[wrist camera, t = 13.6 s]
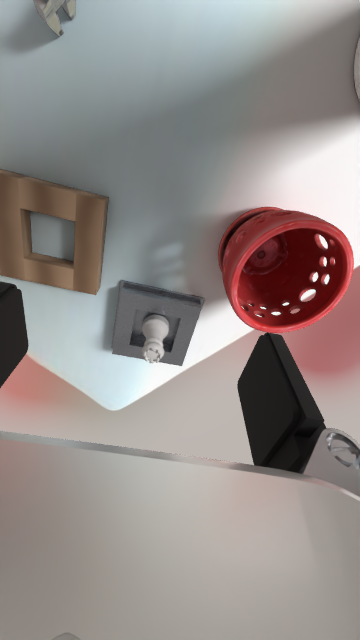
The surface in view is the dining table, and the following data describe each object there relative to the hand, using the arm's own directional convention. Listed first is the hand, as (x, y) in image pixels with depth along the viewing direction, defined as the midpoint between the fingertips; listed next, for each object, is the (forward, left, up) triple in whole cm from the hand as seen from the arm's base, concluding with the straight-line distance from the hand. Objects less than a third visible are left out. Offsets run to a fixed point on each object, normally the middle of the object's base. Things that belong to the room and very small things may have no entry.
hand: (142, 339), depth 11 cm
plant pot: (-14, +2, -29) cm, 32 cm away
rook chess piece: (-2, +18, -28) cm, 33 cm away
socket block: (+14, +7, -28) cm, 32 cm away
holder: (-2, +18, -28) cm, 34 cm away
